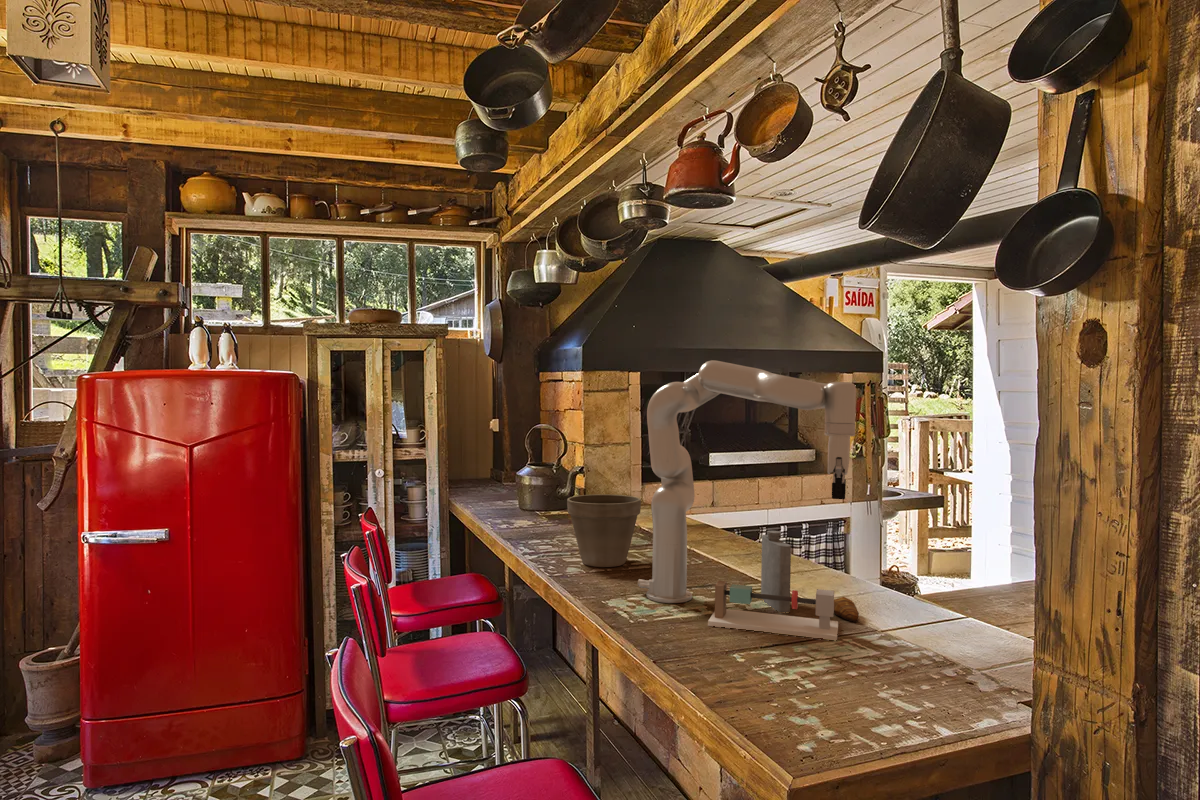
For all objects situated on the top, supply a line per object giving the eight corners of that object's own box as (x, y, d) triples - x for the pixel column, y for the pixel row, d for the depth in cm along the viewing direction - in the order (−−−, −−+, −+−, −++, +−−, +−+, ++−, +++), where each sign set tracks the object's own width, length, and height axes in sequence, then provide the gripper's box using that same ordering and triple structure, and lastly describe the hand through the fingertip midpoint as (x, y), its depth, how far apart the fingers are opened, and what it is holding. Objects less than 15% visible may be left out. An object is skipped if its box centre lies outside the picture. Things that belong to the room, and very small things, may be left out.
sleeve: (729, 602, 180) (729, 587, 180) (731, 598, 183) (732, 584, 183) (749, 604, 178) (750, 589, 178) (751, 600, 182) (752, 586, 182)
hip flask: (791, 613, 189) (793, 536, 189) (776, 613, 189) (777, 536, 189) (770, 596, 205) (771, 525, 205) (756, 596, 205) (757, 525, 204)
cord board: (707, 625, 178) (708, 587, 178) (716, 612, 189) (717, 575, 189) (836, 641, 168) (837, 600, 168) (838, 626, 179) (838, 587, 179)
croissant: (819, 608, 194) (820, 589, 194) (844, 608, 195) (844, 589, 195) (842, 624, 181) (842, 604, 181) (868, 623, 182) (868, 603, 182)
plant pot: (555, 557, 250) (556, 494, 250) (619, 552, 260) (620, 491, 260) (584, 574, 227) (585, 505, 227) (653, 567, 238) (654, 501, 238)
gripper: (825, 428, 196) (824, 491, 197) (823, 431, 180) (822, 500, 180) (855, 429, 194) (854, 493, 194) (855, 431, 178) (854, 501, 178)
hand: (838, 496), depth 187 cm, fingers open, 9 cm apart
